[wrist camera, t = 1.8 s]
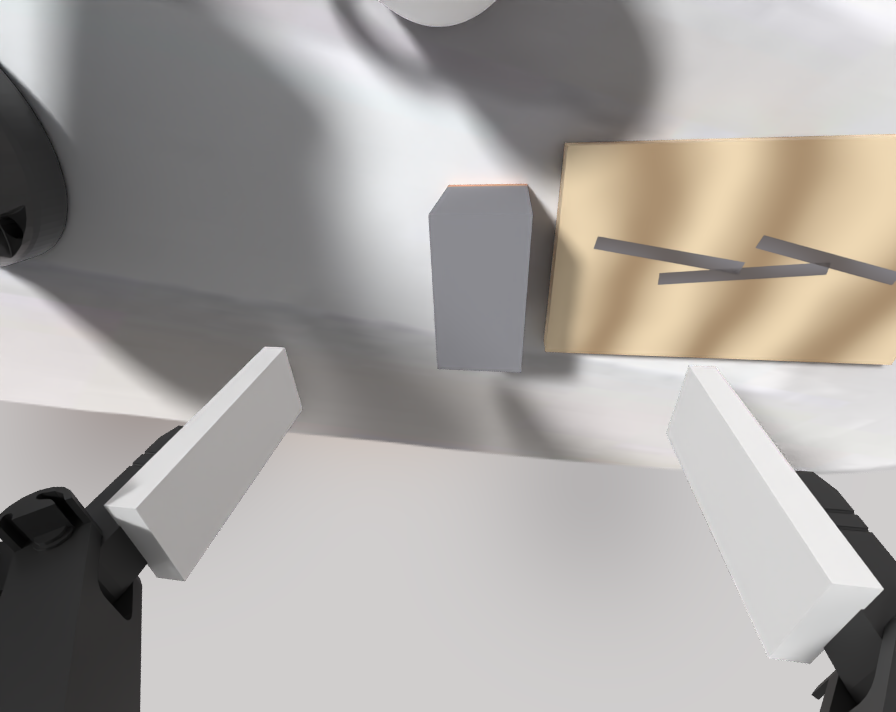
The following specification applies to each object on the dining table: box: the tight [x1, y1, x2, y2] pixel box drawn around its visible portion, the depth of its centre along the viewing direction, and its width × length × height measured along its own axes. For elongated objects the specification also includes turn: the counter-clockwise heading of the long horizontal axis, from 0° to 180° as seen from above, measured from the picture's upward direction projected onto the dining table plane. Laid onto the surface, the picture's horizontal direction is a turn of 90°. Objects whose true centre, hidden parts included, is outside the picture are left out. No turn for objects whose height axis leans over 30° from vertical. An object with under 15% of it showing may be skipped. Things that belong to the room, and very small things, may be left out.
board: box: [544, 134, 896, 365], centre depth 23 cm, size 20×12×2 cm, turn 92°
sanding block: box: [429, 184, 533, 373], centre depth 22 cm, size 4×8×7 cm, turn 2°
